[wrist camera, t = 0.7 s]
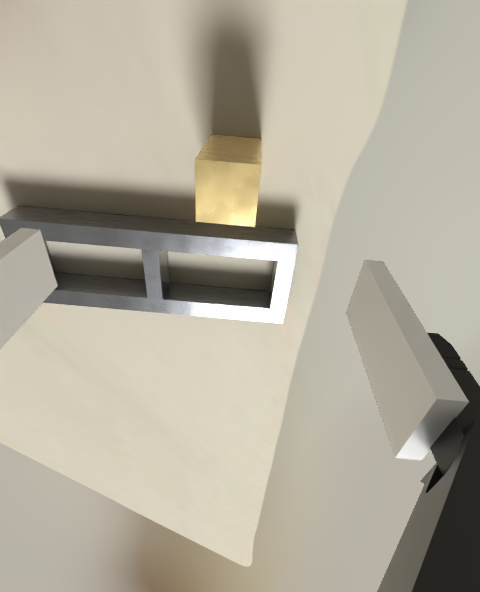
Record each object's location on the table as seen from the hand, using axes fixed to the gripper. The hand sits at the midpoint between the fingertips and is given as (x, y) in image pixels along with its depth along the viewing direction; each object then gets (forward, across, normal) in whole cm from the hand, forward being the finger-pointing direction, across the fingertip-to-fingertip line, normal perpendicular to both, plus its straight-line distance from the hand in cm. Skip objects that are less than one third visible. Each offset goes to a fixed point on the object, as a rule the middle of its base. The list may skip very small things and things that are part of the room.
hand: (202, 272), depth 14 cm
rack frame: (+17, -7, -10) cm, 21 cm away
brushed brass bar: (+17, 0, 0) cm, 17 cm away
